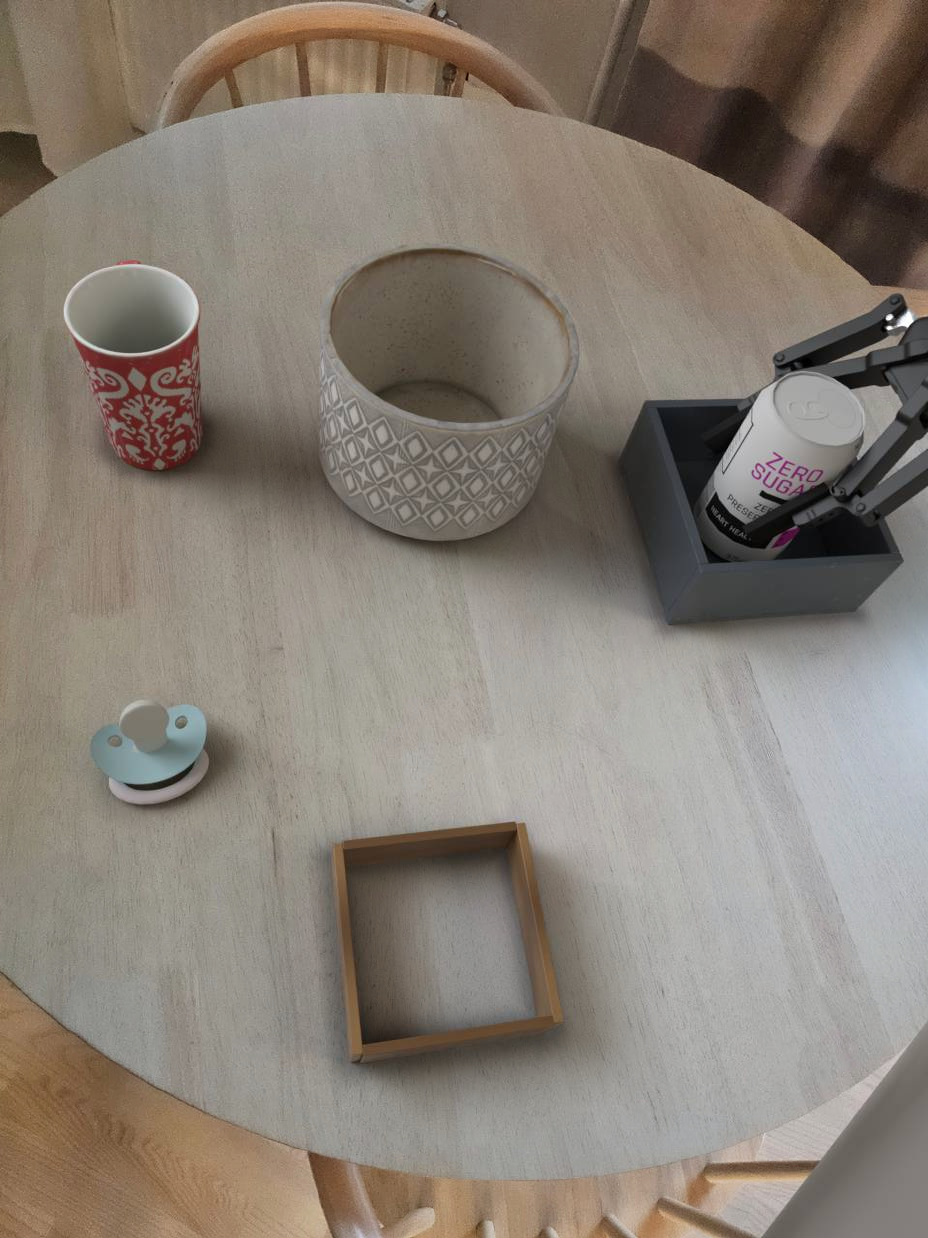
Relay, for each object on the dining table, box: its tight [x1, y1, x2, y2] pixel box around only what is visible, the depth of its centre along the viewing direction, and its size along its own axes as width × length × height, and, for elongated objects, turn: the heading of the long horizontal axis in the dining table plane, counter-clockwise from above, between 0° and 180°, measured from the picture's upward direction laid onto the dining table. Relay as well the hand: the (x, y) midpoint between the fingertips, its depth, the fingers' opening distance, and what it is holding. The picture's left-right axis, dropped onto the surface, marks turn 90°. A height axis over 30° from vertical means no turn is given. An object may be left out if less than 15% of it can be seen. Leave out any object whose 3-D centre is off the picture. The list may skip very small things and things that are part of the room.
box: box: [330, 821, 564, 1064], centre depth 58 cm, size 12×12×4 cm
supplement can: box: [693, 371, 867, 562], centre depth 74 cm, size 8×8×15 cm
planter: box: [317, 242, 580, 542], centre depth 74 cm, size 19×19×14 cm
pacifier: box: [89, 698, 210, 805], centre depth 61 cm, size 7×6×6 cm
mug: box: [62, 259, 204, 471], centre depth 72 cm, size 13×9×14 cm
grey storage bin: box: [618, 397, 905, 626], centre depth 77 cm, size 17×17×8 cm
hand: (728, 489), depth 74 cm, fingers closed on supplement can, 8 cm apart
